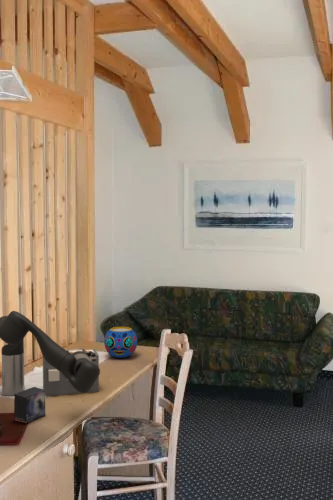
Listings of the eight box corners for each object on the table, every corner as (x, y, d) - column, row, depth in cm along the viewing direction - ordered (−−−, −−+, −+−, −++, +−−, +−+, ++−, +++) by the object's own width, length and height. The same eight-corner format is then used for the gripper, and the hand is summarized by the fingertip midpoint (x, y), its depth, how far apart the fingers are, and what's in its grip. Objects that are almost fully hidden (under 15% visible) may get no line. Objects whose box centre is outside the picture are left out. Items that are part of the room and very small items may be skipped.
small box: (25, 425, 208) (25, 397, 207) (13, 421, 211) (12, 393, 210) (46, 416, 217) (46, 389, 216) (34, 412, 220) (33, 386, 219)
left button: (48, 381, 237) (48, 371, 236) (48, 379, 240) (48, 369, 239) (59, 380, 238) (59, 370, 237) (58, 378, 241) (58, 368, 240)
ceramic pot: (101, 361, 292) (101, 332, 291) (106, 352, 310) (106, 325, 309) (135, 361, 292) (135, 332, 290) (138, 352, 309) (138, 325, 308)
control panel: (44, 396, 239) (43, 357, 237) (43, 388, 248) (42, 351, 247) (98, 391, 245) (98, 353, 243) (95, 384, 254) (95, 348, 253)
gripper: (60, 375, 207) (57, 362, 224) (99, 372, 211) (93, 360, 227) (60, 355, 207) (56, 344, 223) (99, 352, 210) (93, 341, 227)
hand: (75, 352), depth 225 cm, fingers open, 5 cm apart
